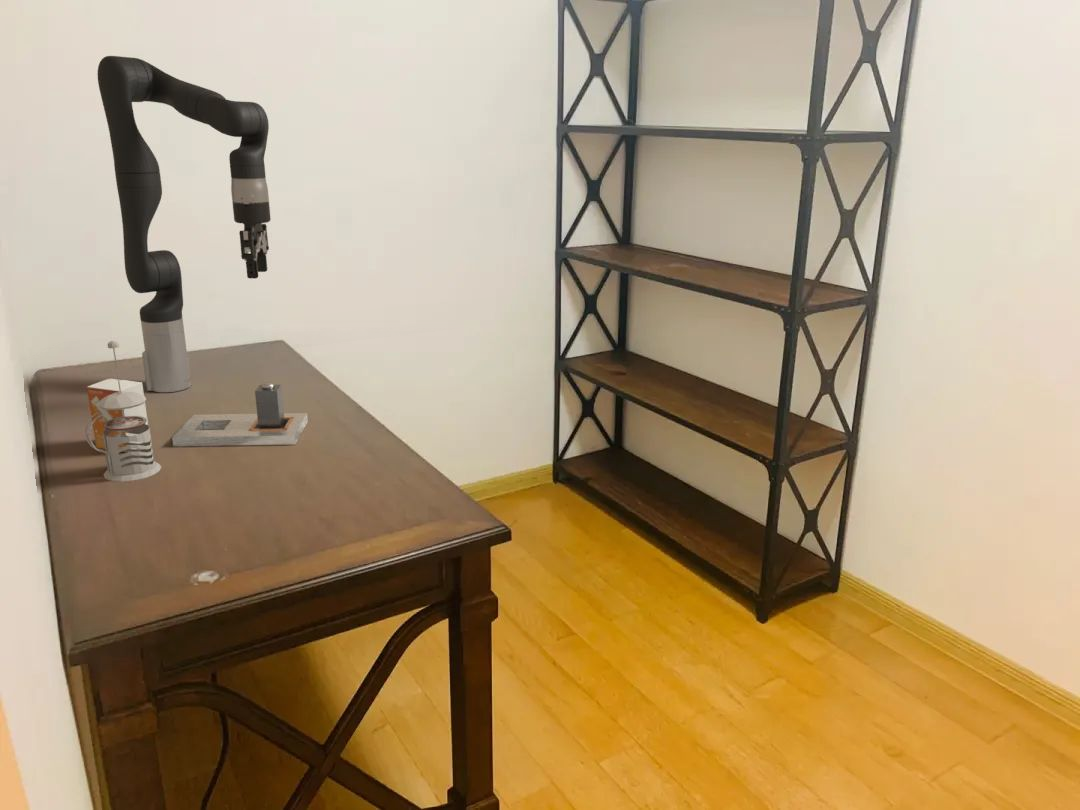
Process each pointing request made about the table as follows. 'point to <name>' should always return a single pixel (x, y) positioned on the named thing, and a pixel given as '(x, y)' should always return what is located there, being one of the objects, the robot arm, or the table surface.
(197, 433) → the rail plate
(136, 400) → the french press
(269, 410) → the block with round knob
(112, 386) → the small box
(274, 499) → the table surface
